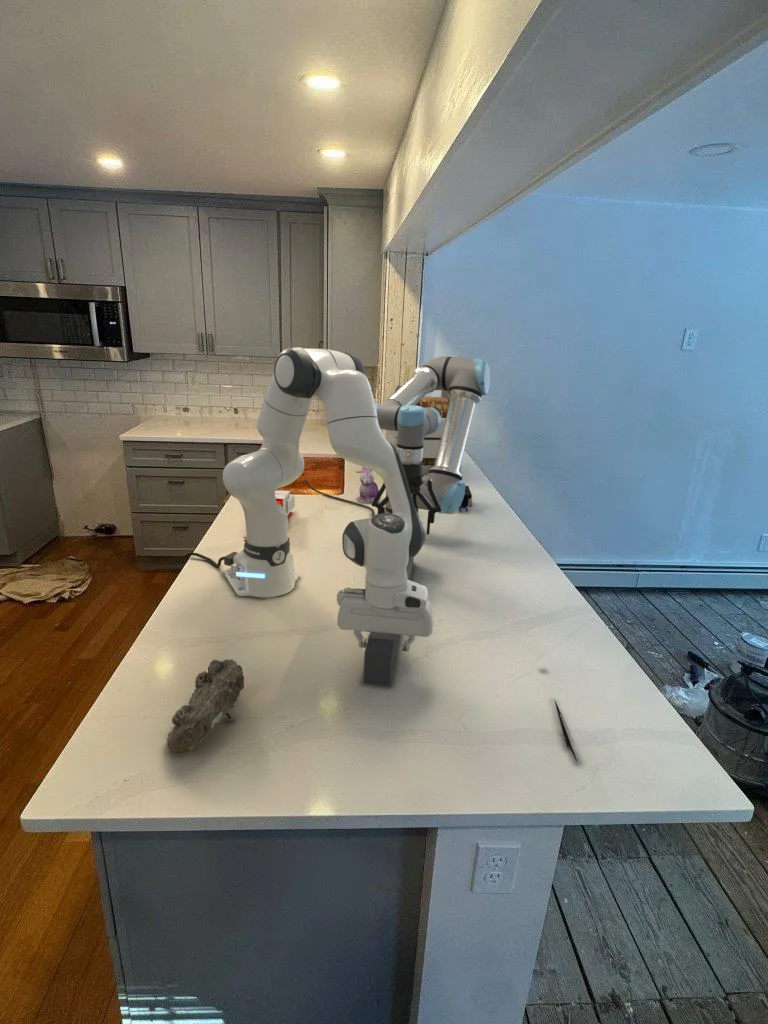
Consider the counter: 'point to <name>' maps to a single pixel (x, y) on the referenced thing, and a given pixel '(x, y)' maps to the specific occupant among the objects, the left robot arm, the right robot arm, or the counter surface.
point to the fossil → (206, 705)
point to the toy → (285, 501)
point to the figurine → (367, 486)
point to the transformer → (432, 439)
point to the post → (382, 652)
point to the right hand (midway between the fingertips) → (405, 531)
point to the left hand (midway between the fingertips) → (384, 648)
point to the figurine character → (466, 499)
